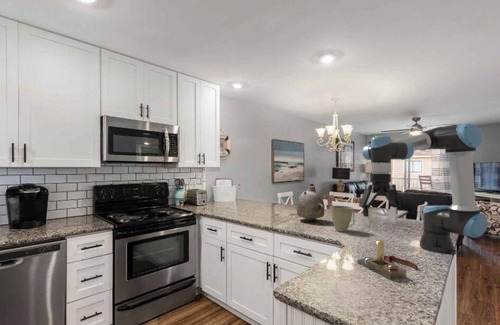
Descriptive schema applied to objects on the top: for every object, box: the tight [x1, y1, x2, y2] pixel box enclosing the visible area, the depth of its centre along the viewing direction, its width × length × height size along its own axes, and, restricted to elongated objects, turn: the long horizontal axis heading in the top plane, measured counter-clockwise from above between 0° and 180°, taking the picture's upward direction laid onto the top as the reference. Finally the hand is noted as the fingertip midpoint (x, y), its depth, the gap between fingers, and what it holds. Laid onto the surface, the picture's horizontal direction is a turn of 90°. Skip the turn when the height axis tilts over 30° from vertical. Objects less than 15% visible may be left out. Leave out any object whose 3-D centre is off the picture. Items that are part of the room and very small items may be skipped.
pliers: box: [384, 253, 419, 271], centre depth 119 cm, size 12×20×3 cm, turn 5°
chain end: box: [357, 256, 380, 275], centre depth 111 cm, size 8×13×2 cm, turn 17°
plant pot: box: [329, 205, 354, 233], centre depth 176 cm, size 15×15×16 cm
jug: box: [296, 182, 325, 222], centre depth 205 cm, size 24×21×30 cm
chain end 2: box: [366, 258, 407, 281], centre depth 106 cm, size 8×13×4 cm, turn 17°
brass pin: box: [375, 239, 385, 265], centre depth 109 cm, size 3×3×12 cm
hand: (380, 223), depth 109 cm, fingers open, 13 cm apart
